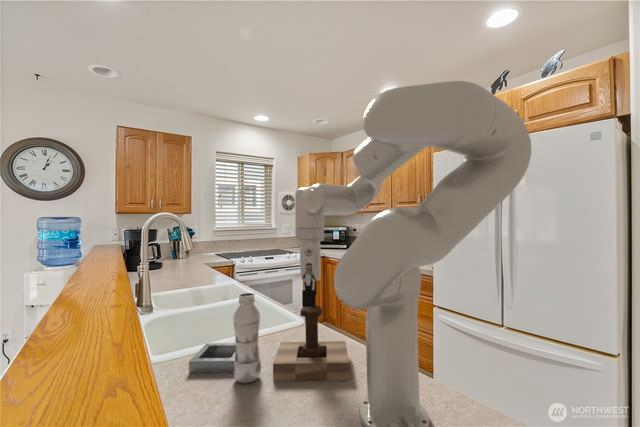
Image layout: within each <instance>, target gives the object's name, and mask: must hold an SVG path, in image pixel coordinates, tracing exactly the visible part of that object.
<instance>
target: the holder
mask: <svg viewBox="0 0 640 427" xmlns="http://www.w3.org/2000/svg"><path fill="white" fill-rule="evenodd" d="M235 351H236V342H225V343H224V342H223V343H221V342H219V343H217V342H215V343H212V342H211V343H205V345H204V346H202V347H201V349H200V350H199V351H197V353H195V355H194V356H192V357H191V358H190V360H189V361H188V374H190V375H191V374H192V375H193V374H200V375H201V374H234V372H233V368H234V361H235ZM211 357H212V358H211Z"/></svg>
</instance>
